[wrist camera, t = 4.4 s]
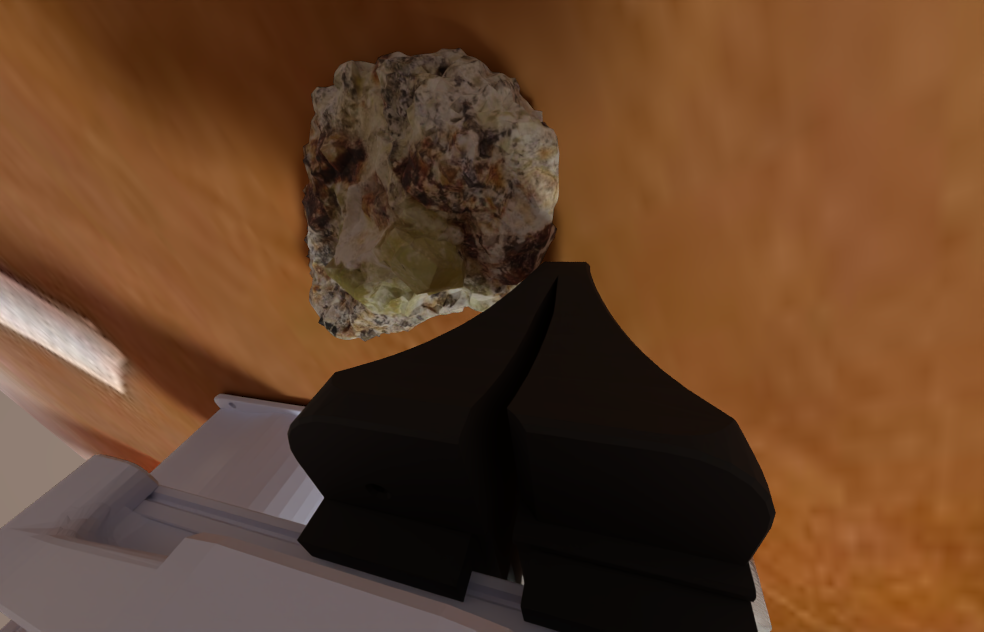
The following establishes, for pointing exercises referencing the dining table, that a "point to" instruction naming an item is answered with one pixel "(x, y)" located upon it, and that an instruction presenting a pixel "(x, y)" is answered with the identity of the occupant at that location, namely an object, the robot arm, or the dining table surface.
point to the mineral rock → (423, 191)
